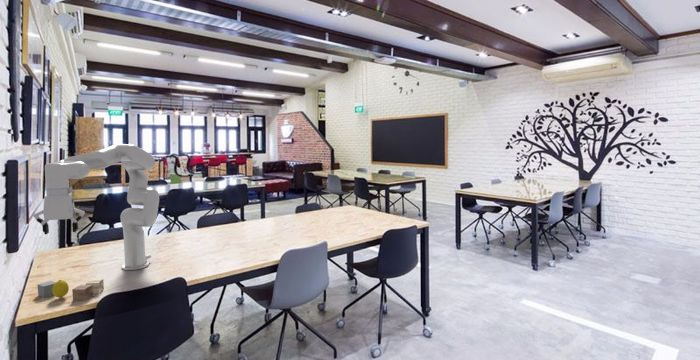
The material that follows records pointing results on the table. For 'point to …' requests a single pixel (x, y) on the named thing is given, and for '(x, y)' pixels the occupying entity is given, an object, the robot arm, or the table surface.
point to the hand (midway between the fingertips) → (60, 232)
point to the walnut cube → (82, 292)
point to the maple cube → (96, 285)
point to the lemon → (60, 288)
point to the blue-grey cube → (45, 289)
